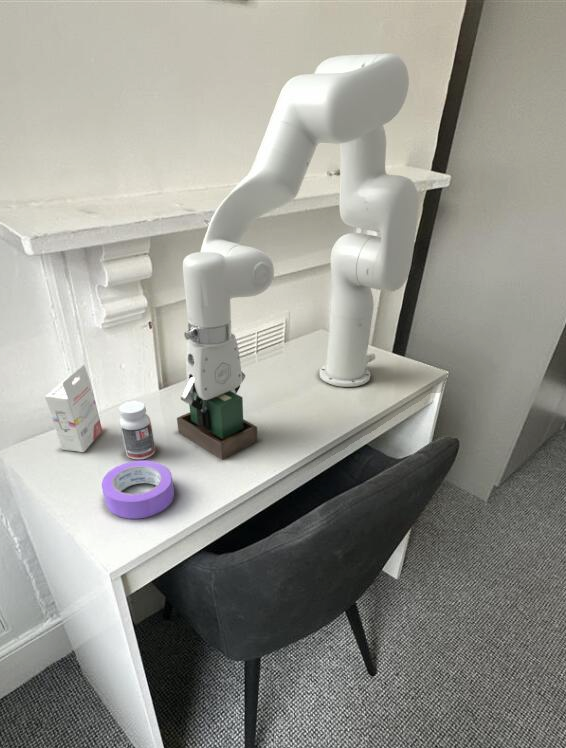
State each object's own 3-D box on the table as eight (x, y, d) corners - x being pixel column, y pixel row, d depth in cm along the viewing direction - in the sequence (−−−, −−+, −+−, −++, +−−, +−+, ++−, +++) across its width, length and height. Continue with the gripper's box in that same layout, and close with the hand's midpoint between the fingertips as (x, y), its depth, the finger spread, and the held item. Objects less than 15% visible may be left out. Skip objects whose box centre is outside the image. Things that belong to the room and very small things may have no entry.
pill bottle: (161, 453, 97) (153, 407, 90) (135, 464, 94) (126, 417, 87) (146, 441, 100) (137, 396, 94) (120, 451, 97) (110, 406, 91)
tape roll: (188, 495, 86) (186, 477, 84) (133, 528, 80) (129, 510, 77) (146, 470, 92) (143, 452, 90) (92, 498, 86) (87, 480, 83)
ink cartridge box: (81, 428, 104) (63, 361, 94) (103, 431, 103) (87, 363, 94) (60, 450, 97) (38, 380, 88) (83, 453, 97) (64, 383, 87)
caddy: (213, 417, 108) (212, 402, 105) (257, 441, 100) (257, 426, 98) (178, 432, 103) (176, 417, 100) (222, 459, 95) (220, 444, 93)
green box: (243, 429, 98) (242, 396, 94) (222, 439, 96) (220, 405, 91) (211, 411, 104) (209, 379, 99) (190, 420, 101) (187, 388, 96)
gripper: (184, 350, 81) (194, 444, 93) (259, 324, 90) (260, 413, 102) (157, 338, 85) (170, 430, 97) (232, 314, 94) (236, 401, 106)
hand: (216, 420), depth 99 cm, fingers closed on green box, 5 cm apart
